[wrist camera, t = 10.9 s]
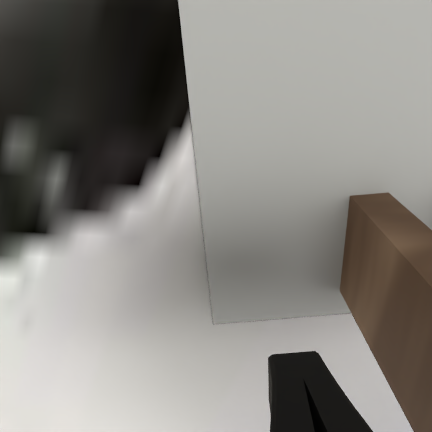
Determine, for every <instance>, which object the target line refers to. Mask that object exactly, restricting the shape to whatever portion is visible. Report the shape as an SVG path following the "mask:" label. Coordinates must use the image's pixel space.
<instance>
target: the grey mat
mask: <svg viewBox="0 0 432 432" xmlns="http://www.w3.org/2000/svg"><path fill="white" fill-rule="evenodd" d="M178 4H179V13H180V22H181V32H182V41H183V50H184V60H185V69H186V78H187V87H188V97H189V106H190V115H191V125H192V134H193V143H194V153H195V162H196V171H197V181H198V190H199V199H200V208H201V218H202V227H203V236H204V246H205V255H206V264H207V274H208V283H209V292H210V301H211V311H212V320H213V324H225V323H237V322H250V321H262V320H275V319H287V318H299V317H312V316H324V315H337V314H349V313H351V311H350V309H349V308H348V306H347V304H346V302H345V300H344V298H343V296H342V294H341V292H340V283H341V274H342V264H343V255H344V245H345V236H346V227H347V217H348V208H349V199H350V196H352V195H364V194H376V193H388V192H389V193H390V194H391V195H392V196H393V197H394V198H395V199H397V200H398V201H399V202H400V203H401V204H402V205H403V206H405V207H406V208H407V209H408V210H409V211H410V212H412V213H413V214H414V215H415V216H416V217H417V218H418V219H420V220H421V221H422V222H423V223H424V224H425V225H427V226H428V227H429V228H430V229H431V230H432V0H178Z"/></svg>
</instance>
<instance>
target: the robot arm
mask: <svg viewBox="0 0 432 432" xmlns="http://www.w3.org/2000/svg"><path fill="white" fill-rule="evenodd" d="M268 373H269V404H270V412H271V425H270V432H373V431H372V430H371V428H370V427H369V426H368V424H367V423H366V422H365V420H364V419H363V418H362V417H361V415H360V414H359V413H358V411H357V410H356V409H355V407H354V406H353V405H352V403H351V402H350V400H349V399H348V398H347V396H346V395H345V393H344V392H343V390H342V389H341V388H340V386H339V385H338V383H337V382H336V380H335V379H334V377H333V376H332V374H331V373H330V371H329V370H328V368H327V367H326V365H325V363H324V362H323V360H322V358H321V357H320V355H319V354H318V353H317V352H316V351H311V352H298V353H286V354H274V355H271V356H270V357H269V358H268Z"/></svg>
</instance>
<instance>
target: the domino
mask: <svg viewBox="0 0 432 432" xmlns="http://www.w3.org/2000/svg"><path fill="white" fill-rule="evenodd" d="M340 292H341V294H342V296H343V298H344V300H345V302H346V304H347V306H348V308H349V309H350V311H351V313H352V315H353V317H354V319H355V321H356V323H357V325H358V327H359V328H360V330H361V332H362V334H363V336H364V338H365V340H366V342H367V344H368V346H369V347H370V349H371V351H372V353H373V355H374V357H375V359H376V361H377V363H378V365H379V366H380V368H381V370H382V372H383V374H384V376H385V378H386V380H387V382H388V384H389V385H390V387H391V389H392V391H393V393H394V395H395V397H396V399H397V401H398V403H399V404H400V406H401V408H402V410H403V412H404V414H405V416H406V418H407V420H408V422H409V423H410V425H411V427H412V429H413V431H414V432H432V230H431V229H430V228H429V227H428V226H427V225H425V224H424V223H423V222H422V221H421V220H420V219H418V218H417V217H416V216H415V215H414V214H413V213H412V212H410V211H409V210H408V209H407V208H406V207H405V206H403V205H402V204H401V203H400V202H399V201H398V200H397V199H395V198H394V197H393V196H392V195H391V194H390V193H389V192H388V193H376V194H364V195H352V196H350V199H349V208H348V217H347V227H346V236H345V245H344V255H343V264H342V274H341V283H340Z"/></svg>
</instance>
